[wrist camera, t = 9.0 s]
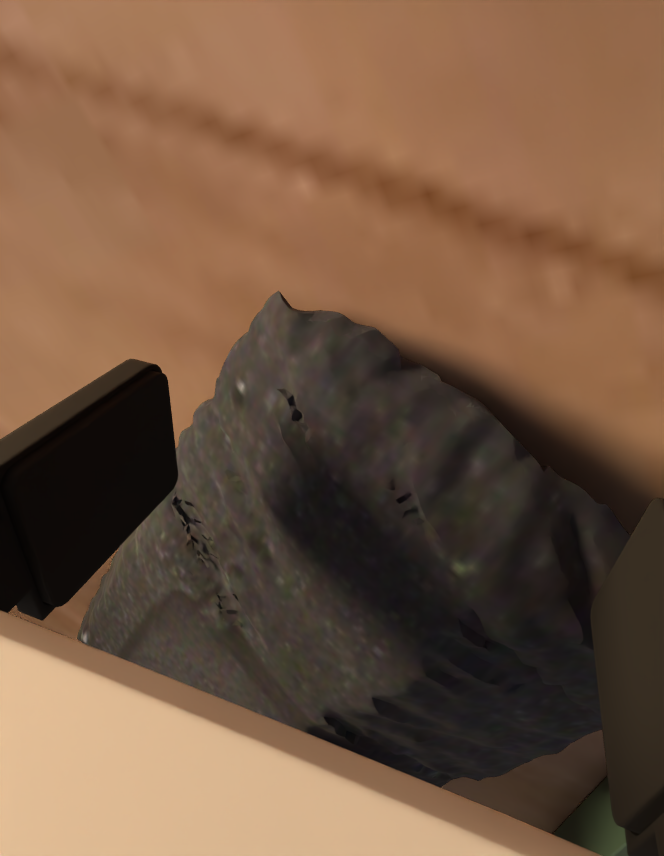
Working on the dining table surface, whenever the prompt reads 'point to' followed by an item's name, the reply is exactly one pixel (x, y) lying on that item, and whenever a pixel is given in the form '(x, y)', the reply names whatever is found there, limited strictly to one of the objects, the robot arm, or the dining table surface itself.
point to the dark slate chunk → (366, 560)
